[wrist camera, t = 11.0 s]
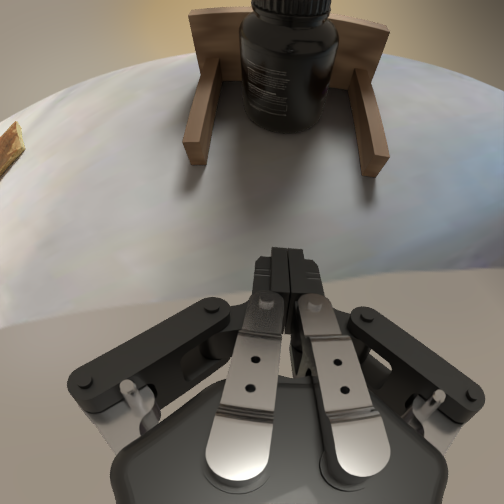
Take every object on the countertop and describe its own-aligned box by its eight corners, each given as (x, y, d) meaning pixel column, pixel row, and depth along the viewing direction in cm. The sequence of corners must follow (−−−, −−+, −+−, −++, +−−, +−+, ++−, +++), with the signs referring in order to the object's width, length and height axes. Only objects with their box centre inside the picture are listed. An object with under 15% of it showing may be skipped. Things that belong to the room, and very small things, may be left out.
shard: (-23, 213, 22) (-32, 208, 20) (-25, 177, 23) (-33, 172, 21) (28, 152, 23) (20, 145, 21) (22, 123, 25) (15, 116, 23)
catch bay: (364, 85, 23) (386, 25, 15) (384, 178, 20) (430, 116, 12) (204, 74, 24) (191, 10, 16) (181, 164, 21) (149, 92, 13)
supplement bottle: (336, 122, 22) (373, 5, 10) (267, 147, 21) (270, 11, 9) (295, 76, 23) (306, -30, 12) (230, 96, 23) (217, -20, 11)
